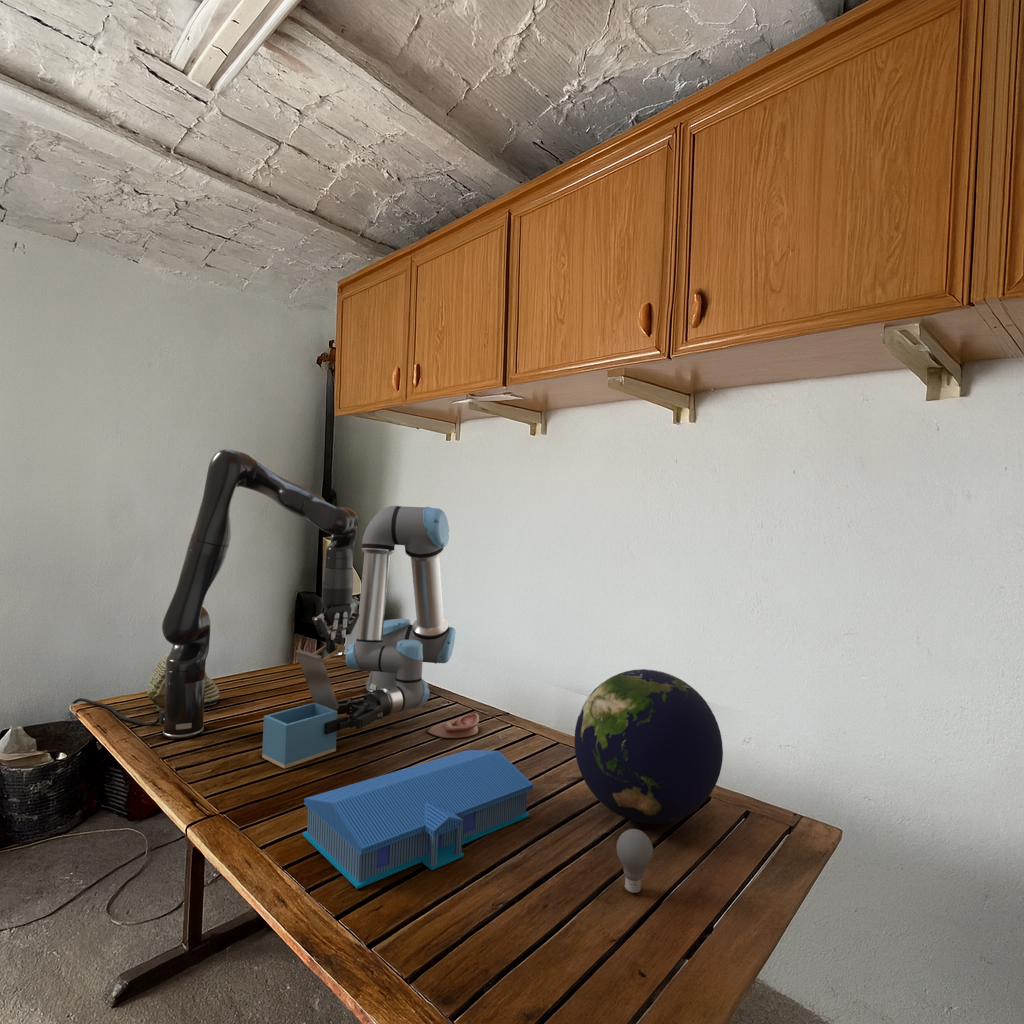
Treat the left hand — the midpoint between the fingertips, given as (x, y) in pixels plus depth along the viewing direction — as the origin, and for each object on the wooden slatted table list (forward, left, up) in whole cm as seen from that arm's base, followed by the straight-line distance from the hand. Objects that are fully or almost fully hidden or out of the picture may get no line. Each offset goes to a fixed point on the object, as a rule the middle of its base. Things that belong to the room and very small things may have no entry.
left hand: (334, 652), depth 162 cm
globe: (+73, +32, -23) cm, 83 cm away
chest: (+1, -9, -23) cm, 25 cm away
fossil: (-51, -20, -23) cm, 59 cm away
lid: (+1, -5, -6) cm, 8 cm away
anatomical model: (+12, +30, -23) cm, 40 cm away
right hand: (+1, -6, -17) cm, 18 cm away
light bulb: (+87, +9, -23) cm, 91 cm away
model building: (+49, -6, -23) cm, 55 cm away
